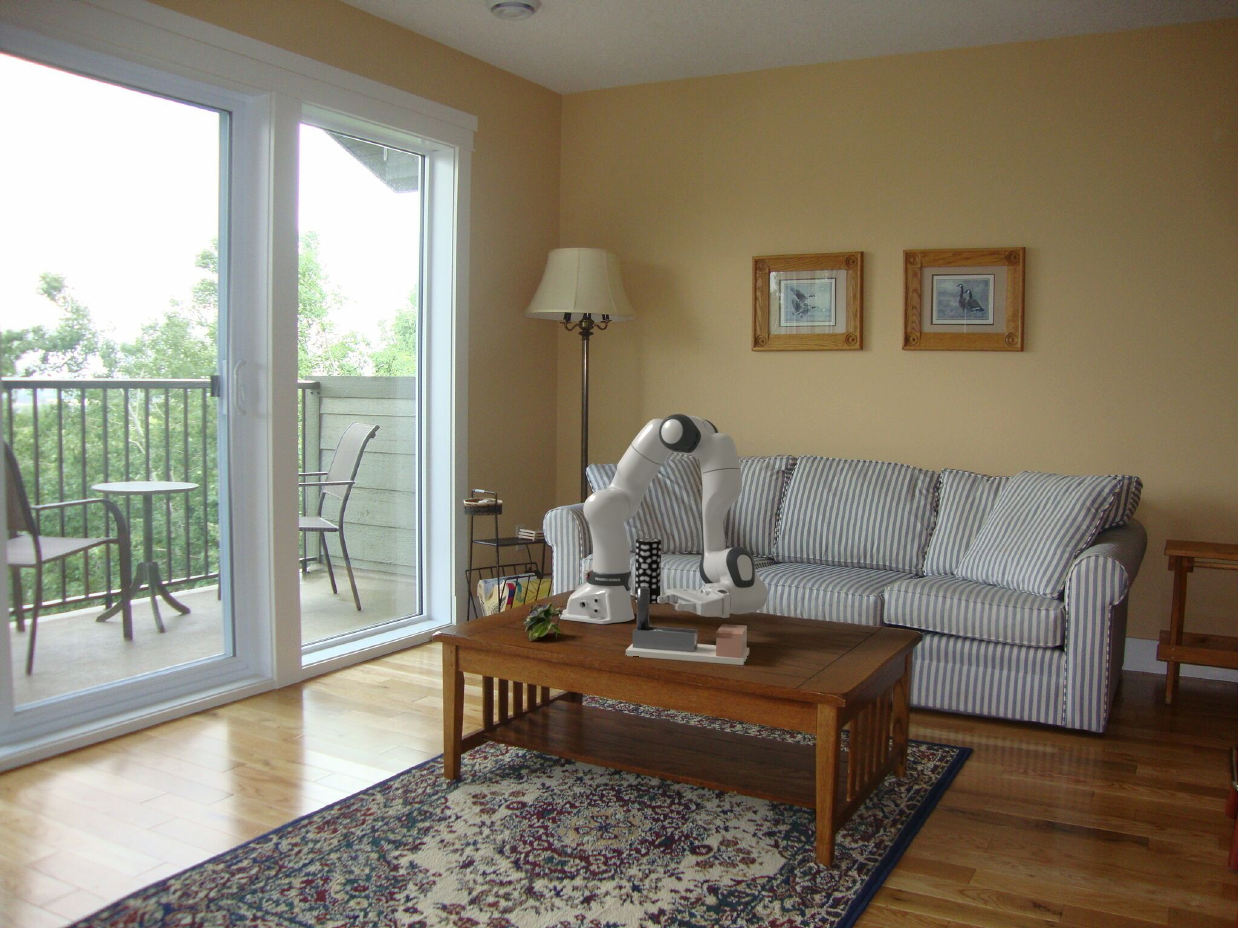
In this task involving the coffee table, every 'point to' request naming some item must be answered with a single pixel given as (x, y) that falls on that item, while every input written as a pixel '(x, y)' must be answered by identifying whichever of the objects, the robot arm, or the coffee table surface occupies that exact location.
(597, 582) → the robot arm
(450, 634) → the coffee table surface
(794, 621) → the coffee table surface
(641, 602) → the slide bolt
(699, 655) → the base board
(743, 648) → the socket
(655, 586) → the white-spotted black cylinder
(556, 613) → the passion flower
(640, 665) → the coffee table surface
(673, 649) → the grey guide channel
